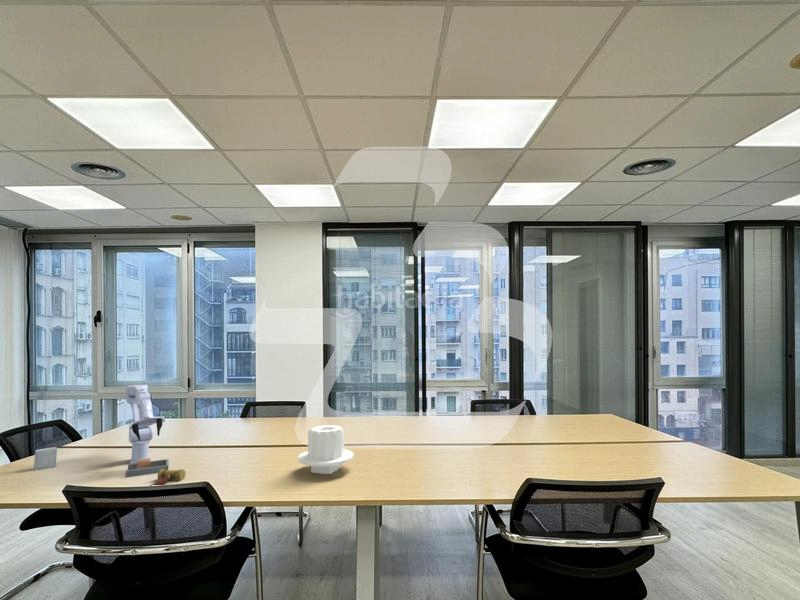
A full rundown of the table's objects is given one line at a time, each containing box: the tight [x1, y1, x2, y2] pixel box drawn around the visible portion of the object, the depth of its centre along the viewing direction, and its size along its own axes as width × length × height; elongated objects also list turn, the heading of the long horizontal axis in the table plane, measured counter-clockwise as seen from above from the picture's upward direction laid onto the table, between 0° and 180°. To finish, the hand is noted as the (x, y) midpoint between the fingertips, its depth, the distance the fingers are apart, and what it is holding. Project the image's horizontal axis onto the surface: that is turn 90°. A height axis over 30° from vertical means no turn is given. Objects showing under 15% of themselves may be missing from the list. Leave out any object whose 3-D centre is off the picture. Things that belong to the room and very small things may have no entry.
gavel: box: [150, 468, 186, 486], centre depth 174 cm, size 21×5×10 cm
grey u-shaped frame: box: [125, 458, 170, 478], centre depth 195 cm, size 12×16×2 cm
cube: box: [137, 457, 152, 469], centre depth 194 cm, size 5×5×5 cm
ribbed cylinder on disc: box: [297, 424, 354, 475], centre depth 193 cm, size 25×25×19 cm
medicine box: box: [33, 446, 58, 470], centre depth 200 cm, size 8×4×9 cm, turn 134°
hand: (148, 436), depth 195 cm, fingers open, 7 cm apart
